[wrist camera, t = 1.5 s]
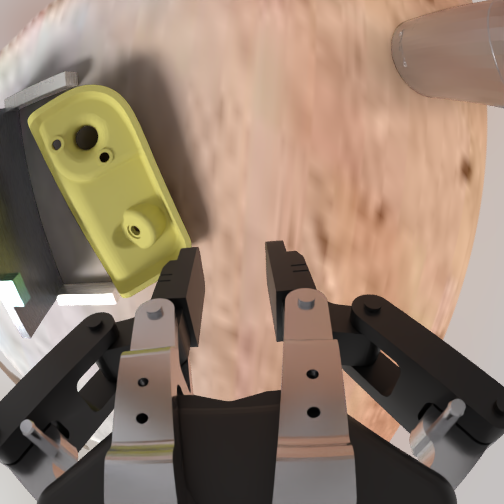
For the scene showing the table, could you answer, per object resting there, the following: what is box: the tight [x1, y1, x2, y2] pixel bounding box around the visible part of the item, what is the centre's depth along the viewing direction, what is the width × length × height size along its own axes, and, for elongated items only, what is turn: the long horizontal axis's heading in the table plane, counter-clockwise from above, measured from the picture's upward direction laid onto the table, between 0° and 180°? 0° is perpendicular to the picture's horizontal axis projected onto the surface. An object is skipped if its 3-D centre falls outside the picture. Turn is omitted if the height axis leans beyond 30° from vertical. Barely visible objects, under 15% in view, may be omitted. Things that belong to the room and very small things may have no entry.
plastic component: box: [28, 85, 191, 298], centre depth 25 cm, size 20×7×10 cm
